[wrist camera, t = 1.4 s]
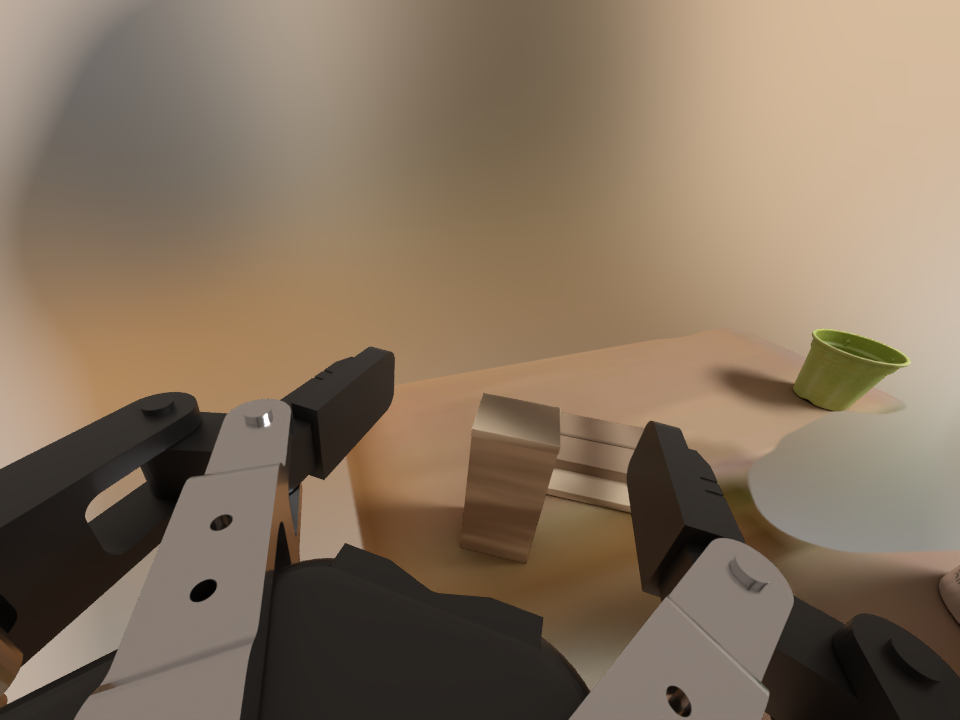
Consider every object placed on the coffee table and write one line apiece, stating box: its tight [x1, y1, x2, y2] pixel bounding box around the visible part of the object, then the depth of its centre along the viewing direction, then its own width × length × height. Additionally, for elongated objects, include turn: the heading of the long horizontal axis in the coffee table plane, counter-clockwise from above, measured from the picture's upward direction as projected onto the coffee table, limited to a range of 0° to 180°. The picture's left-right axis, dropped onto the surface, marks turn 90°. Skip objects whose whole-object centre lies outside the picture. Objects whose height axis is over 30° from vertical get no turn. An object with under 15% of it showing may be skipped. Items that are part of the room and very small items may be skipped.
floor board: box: [546, 412, 645, 513], centre depth 34 cm, size 18×10×2 cm, turn 79°
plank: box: [460, 393, 561, 564], centre depth 24 cm, size 4×5×12 cm
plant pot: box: [793, 329, 911, 411], centre depth 47 cm, size 9×9×9 cm
